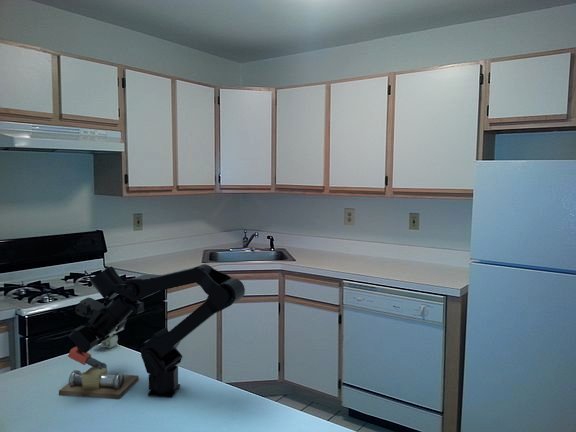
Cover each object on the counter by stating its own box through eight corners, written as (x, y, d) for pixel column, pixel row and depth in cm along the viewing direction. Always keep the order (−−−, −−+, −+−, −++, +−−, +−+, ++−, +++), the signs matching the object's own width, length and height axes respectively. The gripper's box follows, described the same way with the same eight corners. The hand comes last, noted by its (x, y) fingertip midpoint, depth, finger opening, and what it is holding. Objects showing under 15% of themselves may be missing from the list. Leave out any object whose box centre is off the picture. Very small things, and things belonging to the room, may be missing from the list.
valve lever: (109, 363, 121) (75, 346, 121) (105, 367, 118) (70, 349, 119) (106, 371, 121) (72, 353, 122) (102, 374, 119) (67, 356, 119)
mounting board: (138, 379, 123) (138, 375, 123) (119, 399, 112) (119, 394, 112) (83, 376, 124) (83, 372, 124) (59, 395, 113) (58, 390, 113)
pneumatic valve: (127, 341, 152) (127, 306, 151) (103, 353, 141) (102, 316, 140) (114, 339, 154) (113, 304, 153) (88, 351, 143) (88, 314, 142)
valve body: (125, 385, 118) (124, 369, 118) (116, 392, 114) (116, 376, 113) (78, 382, 119) (77, 366, 119) (68, 389, 115) (68, 373, 115)
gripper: (114, 281, 128) (79, 317, 130) (74, 298, 109) (34, 340, 112) (140, 309, 127) (105, 345, 130) (106, 332, 109) (65, 372, 111)
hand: (79, 349), depth 121 cm, fingers closed, pressing on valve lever
